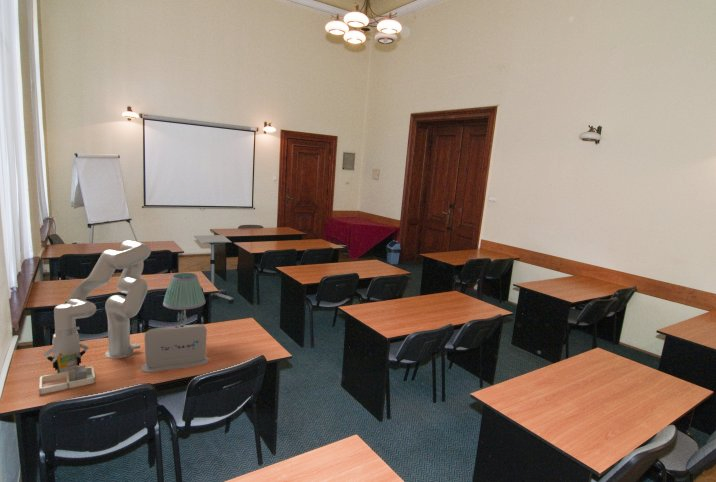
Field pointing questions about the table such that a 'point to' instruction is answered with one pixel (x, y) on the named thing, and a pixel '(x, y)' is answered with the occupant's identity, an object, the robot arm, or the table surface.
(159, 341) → the wireless router
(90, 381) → the divided tray
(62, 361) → the crayon box
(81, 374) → the grey block
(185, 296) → the table lamp
